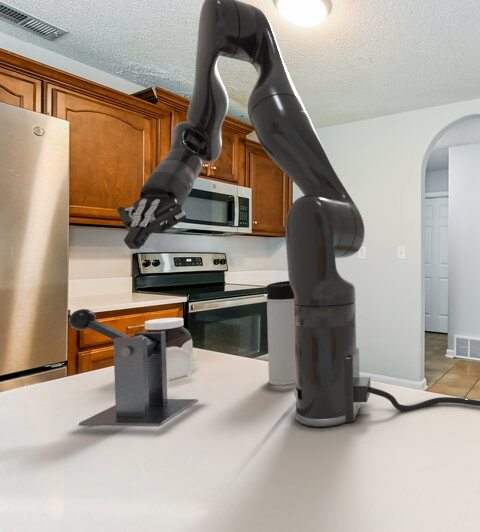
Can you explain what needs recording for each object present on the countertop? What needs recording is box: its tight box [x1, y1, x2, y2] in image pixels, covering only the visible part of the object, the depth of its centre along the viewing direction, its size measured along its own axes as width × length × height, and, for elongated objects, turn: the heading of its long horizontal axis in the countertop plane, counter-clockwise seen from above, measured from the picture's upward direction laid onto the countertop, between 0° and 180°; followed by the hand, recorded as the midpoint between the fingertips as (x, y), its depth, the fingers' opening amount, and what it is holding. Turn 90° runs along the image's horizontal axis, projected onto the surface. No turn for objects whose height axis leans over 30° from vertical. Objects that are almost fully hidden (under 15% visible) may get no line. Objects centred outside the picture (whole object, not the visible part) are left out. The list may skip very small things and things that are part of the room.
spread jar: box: [144, 317, 196, 383], centre depth 76 cm, size 12×11×12 cm
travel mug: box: [266, 280, 296, 387], centre depth 71 cm, size 6×7×20 cm
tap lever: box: [68, 308, 157, 357], centre depth 57 cm, size 13×3×3 cm, turn 88°
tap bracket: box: [78, 331, 199, 427], centre depth 57 cm, size 12×9×13 cm
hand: (131, 245), depth 67 cm, fingers closed
